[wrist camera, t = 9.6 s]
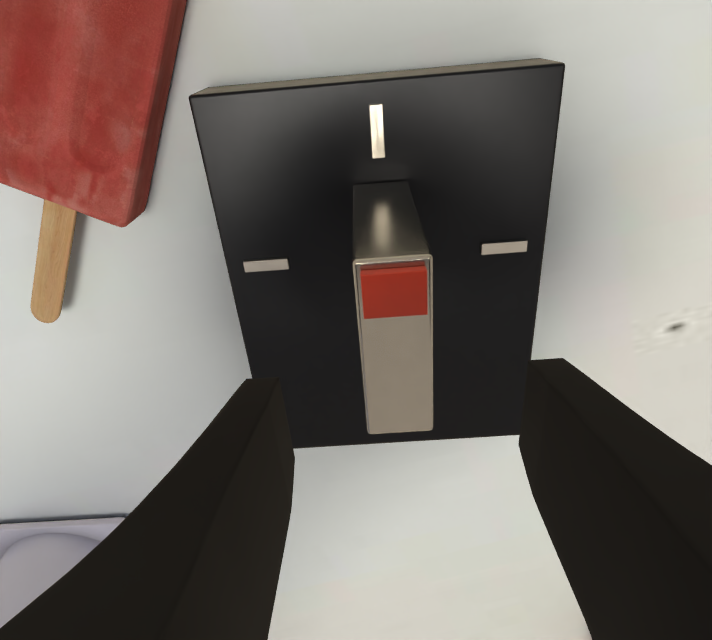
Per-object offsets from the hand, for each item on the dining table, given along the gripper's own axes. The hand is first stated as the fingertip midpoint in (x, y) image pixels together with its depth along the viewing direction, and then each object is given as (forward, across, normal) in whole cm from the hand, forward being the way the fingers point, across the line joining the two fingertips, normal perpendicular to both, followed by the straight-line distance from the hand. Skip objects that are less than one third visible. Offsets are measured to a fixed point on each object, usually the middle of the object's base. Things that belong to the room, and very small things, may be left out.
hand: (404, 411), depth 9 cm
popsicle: (+10, +9, -5) cm, 14 cm away
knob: (+7, 0, 0) cm, 7 cm away
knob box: (+9, 0, +2) cm, 10 cm away
